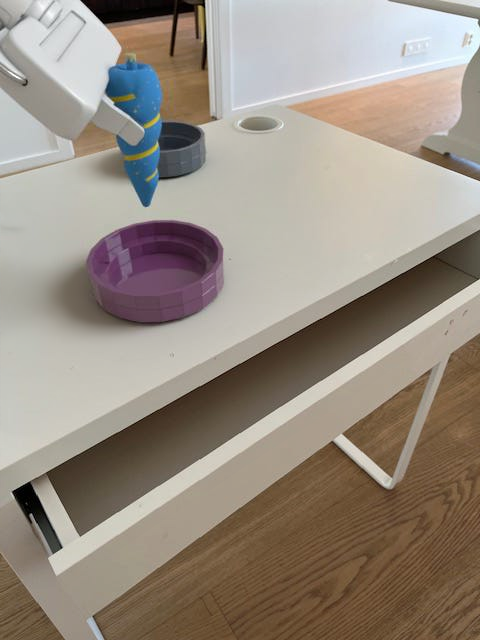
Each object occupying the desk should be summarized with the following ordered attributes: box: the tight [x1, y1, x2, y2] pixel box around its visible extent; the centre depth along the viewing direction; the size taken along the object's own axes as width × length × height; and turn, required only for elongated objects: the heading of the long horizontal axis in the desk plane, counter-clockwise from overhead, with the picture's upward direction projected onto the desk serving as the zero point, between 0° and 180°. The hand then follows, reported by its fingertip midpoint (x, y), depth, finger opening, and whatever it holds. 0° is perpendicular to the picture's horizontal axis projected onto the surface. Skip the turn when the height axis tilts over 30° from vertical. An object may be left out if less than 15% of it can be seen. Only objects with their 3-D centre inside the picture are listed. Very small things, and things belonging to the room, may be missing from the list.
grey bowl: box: [157, 120, 207, 178], centre depth 84 cm, size 13×13×4 cm
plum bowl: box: [85, 219, 225, 323], centre depth 59 cm, size 15×15×4 cm
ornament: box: [104, 45, 163, 208], centre depth 49 cm, size 5×5×15 cm
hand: (143, 125), depth 48 cm, fingers closed on ornament, 5 cm apart
